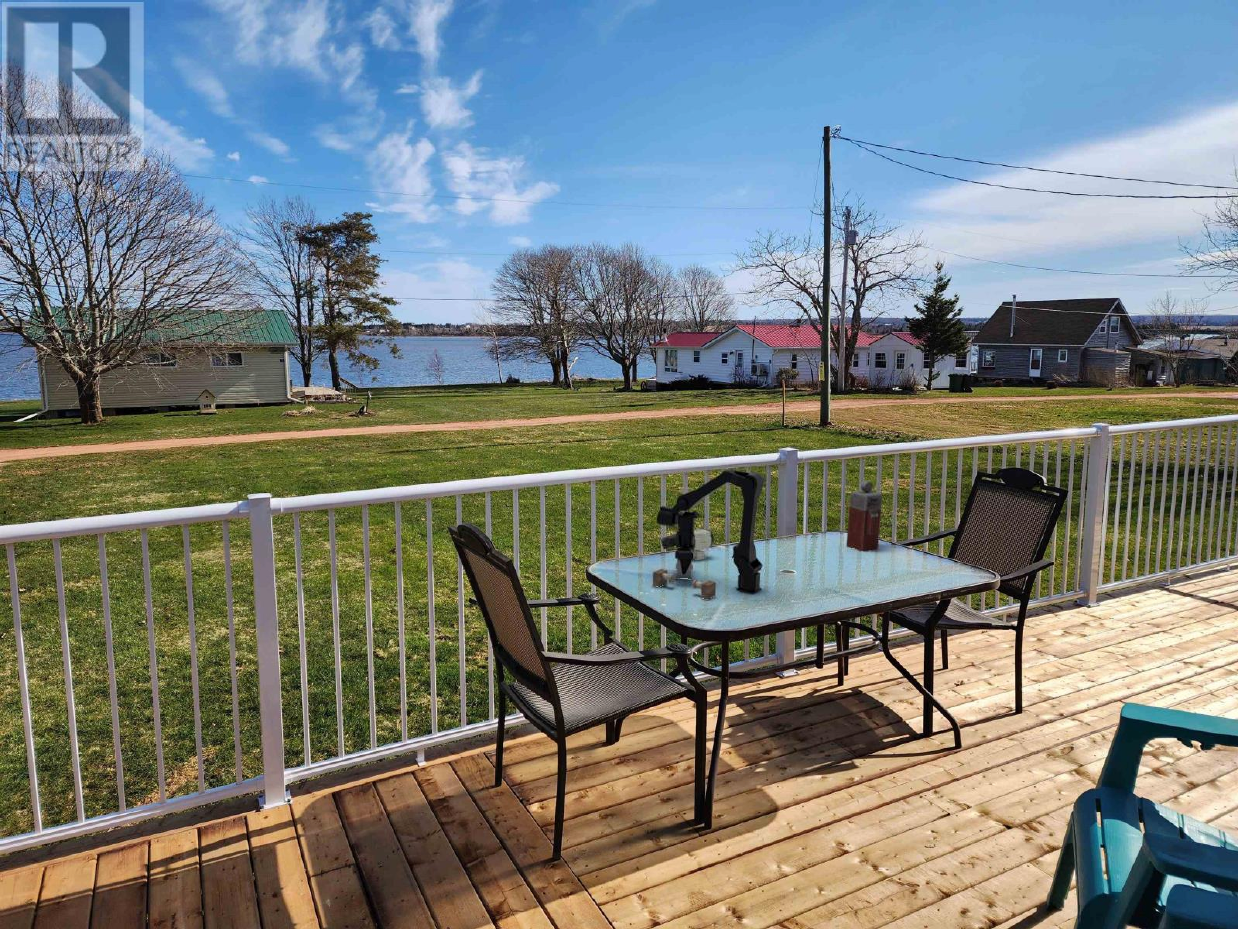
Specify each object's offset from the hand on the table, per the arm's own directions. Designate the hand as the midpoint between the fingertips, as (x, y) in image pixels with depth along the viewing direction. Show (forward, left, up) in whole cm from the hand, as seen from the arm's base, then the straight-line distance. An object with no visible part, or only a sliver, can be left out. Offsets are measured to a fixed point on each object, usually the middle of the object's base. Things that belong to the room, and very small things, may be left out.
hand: (684, 572), depth 271 cm
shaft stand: (-8, +13, -2) cm, 15 cm away
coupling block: (0, 0, -2) cm, 2 cm away
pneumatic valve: (+8, -23, -2) cm, 24 cm away
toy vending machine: (-35, -83, -2) cm, 90 cm away
